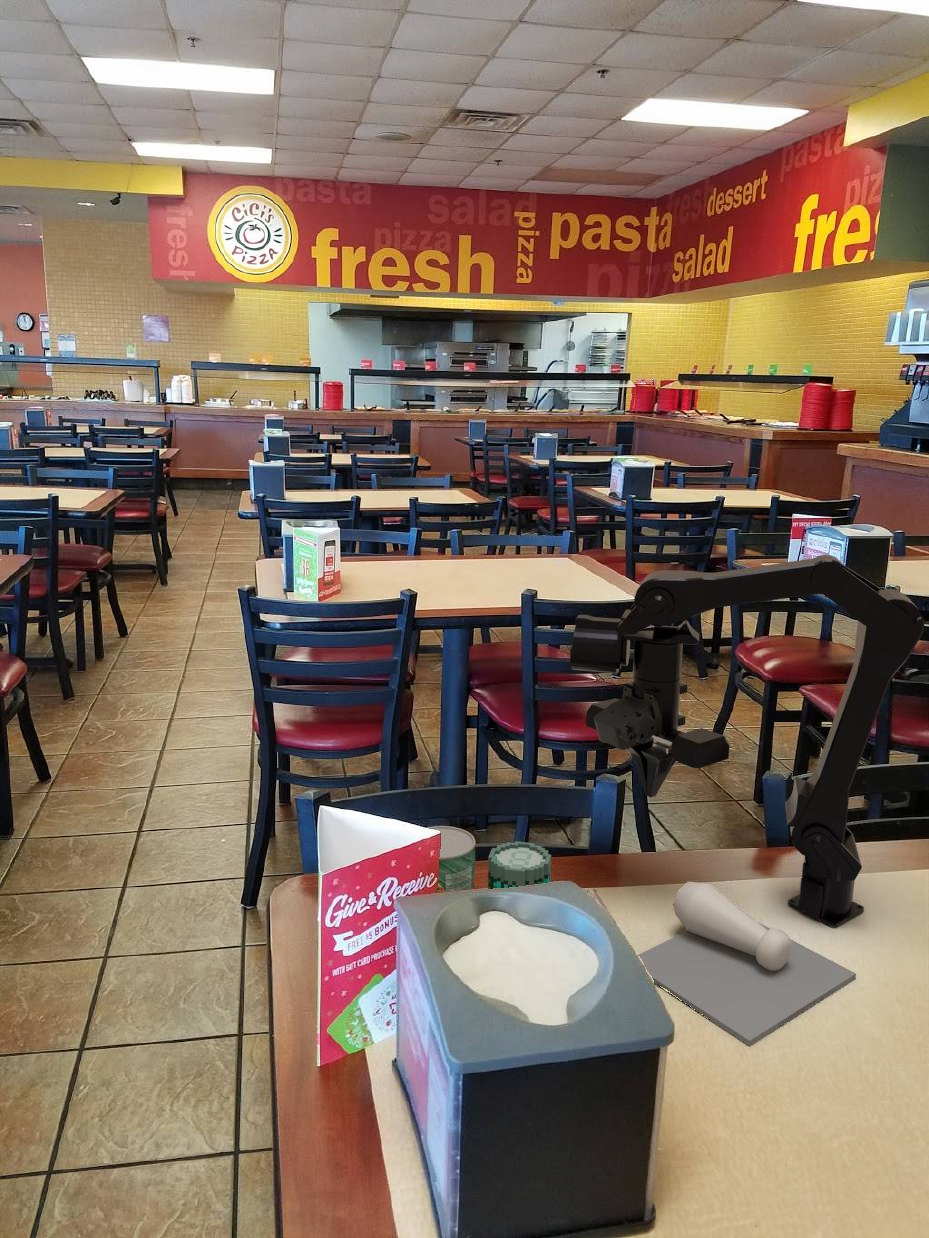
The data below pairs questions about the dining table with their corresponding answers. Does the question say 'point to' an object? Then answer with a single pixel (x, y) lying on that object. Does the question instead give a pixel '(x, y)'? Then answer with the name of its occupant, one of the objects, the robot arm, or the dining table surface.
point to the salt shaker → (730, 924)
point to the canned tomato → (456, 859)
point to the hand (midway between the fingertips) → (650, 795)
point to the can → (518, 865)
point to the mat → (742, 983)
